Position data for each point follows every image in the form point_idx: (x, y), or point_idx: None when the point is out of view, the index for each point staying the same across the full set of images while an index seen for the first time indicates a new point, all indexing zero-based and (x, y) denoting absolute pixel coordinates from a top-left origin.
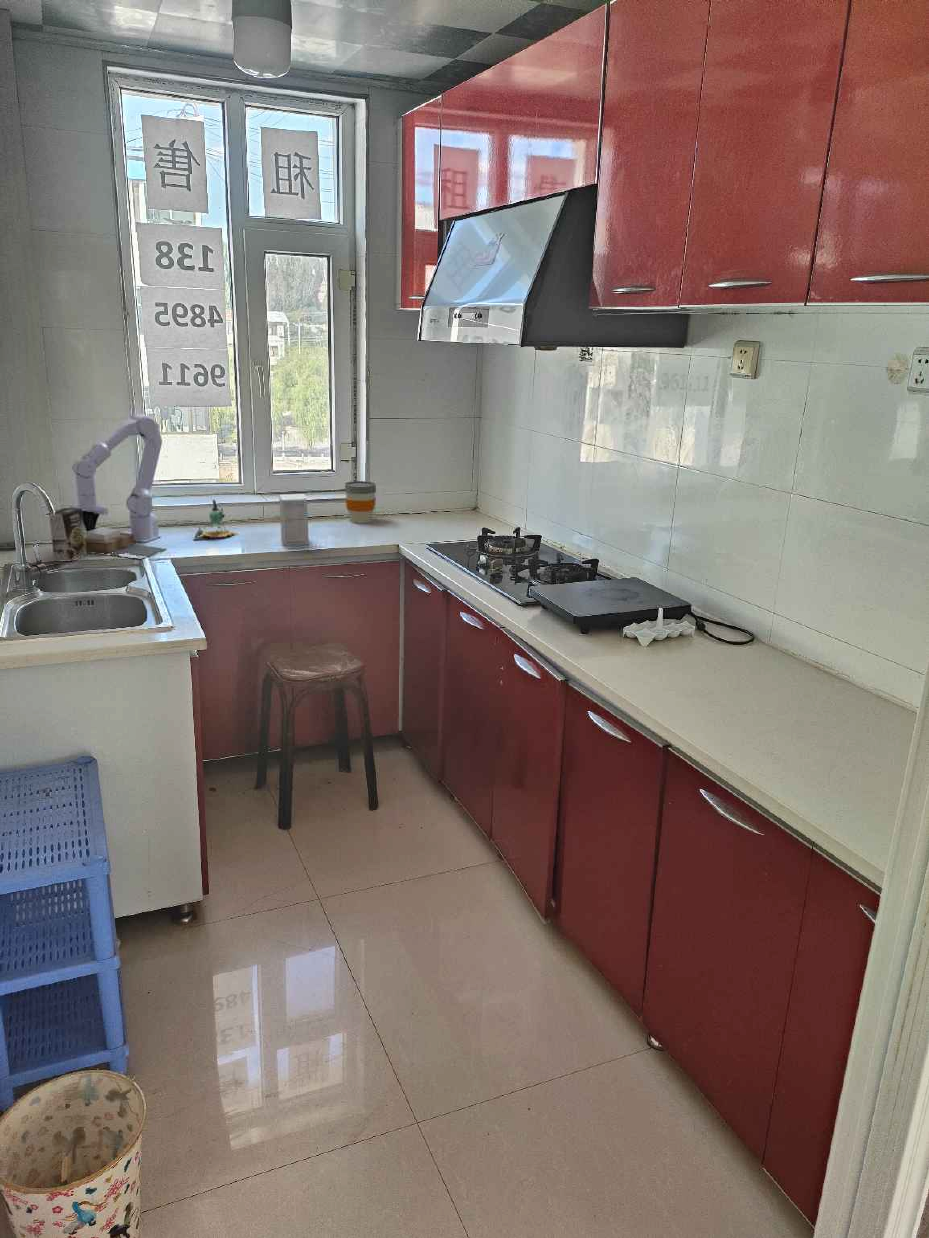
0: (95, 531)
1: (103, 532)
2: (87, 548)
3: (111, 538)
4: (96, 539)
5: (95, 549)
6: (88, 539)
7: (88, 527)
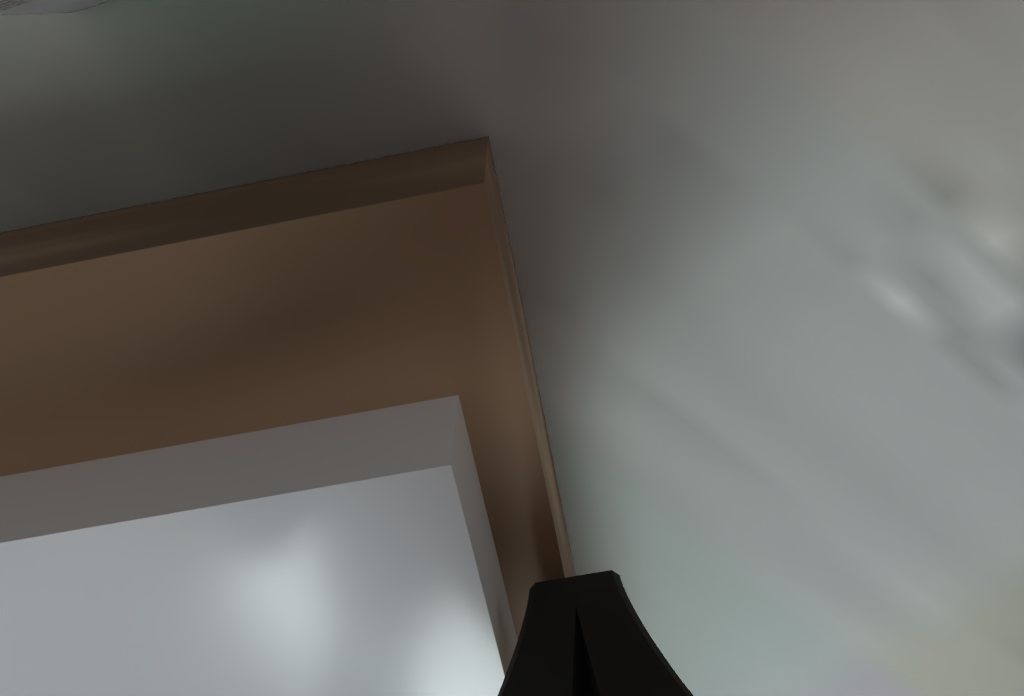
0: (322, 638)
1: (106, 680)
2: (252, 196)
3: None
4: (165, 444)
5: (60, 233)
6: (289, 345)
7: (539, 671)
